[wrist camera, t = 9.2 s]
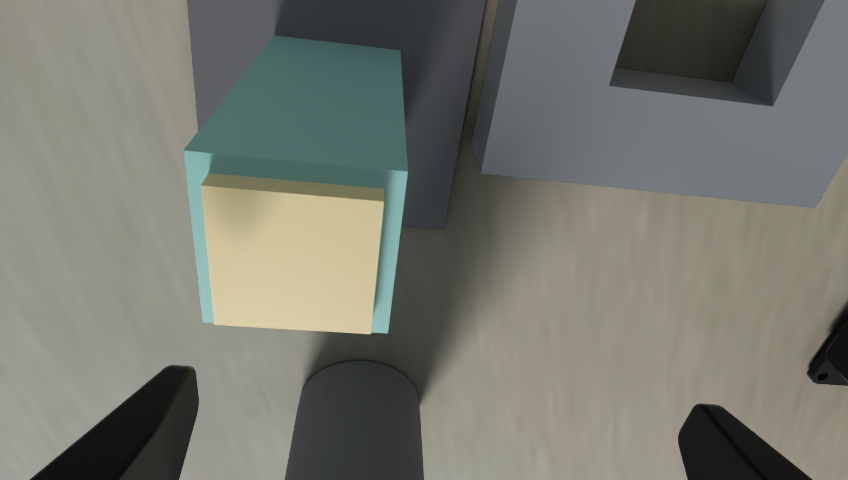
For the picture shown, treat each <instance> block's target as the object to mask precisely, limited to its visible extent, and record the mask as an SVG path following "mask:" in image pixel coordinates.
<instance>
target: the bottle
mask: <svg viewBox="0 0 848 480" xmlns="http://www.w3.org/2000/svg"><path fill="white" fill-rule="evenodd" d="M285 480H424V473H423V456H422V439H421V422H420V410H419V400H418V395H417V391H416V389H415V387H414V385H413V384H412V383H411V381H410V380H409V379H408V378H407V377H406V376H405V375H404V374H402V373H401V372H399V371H398V370H396V369H394V368H392V367H389V366H387V365H384V364H381V363H377V362H372V361H348V362H342V363H338V364H334V365H331V366H329V367H327V368H325V369H323V370H321V371H319V372H317V373H316V374H315V375H314V376H313V377H312V378H311V379H310V380H309V381H308V382H307V383H306V385H305V386H304V388H303V390H302V393H301V397H300V401H299V405H298V410H297V415H296V421H295V426H294V432H293V437H292V443H291V448H290V454H289V459H288V465H287V470H286V476H285Z"/></svg>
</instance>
